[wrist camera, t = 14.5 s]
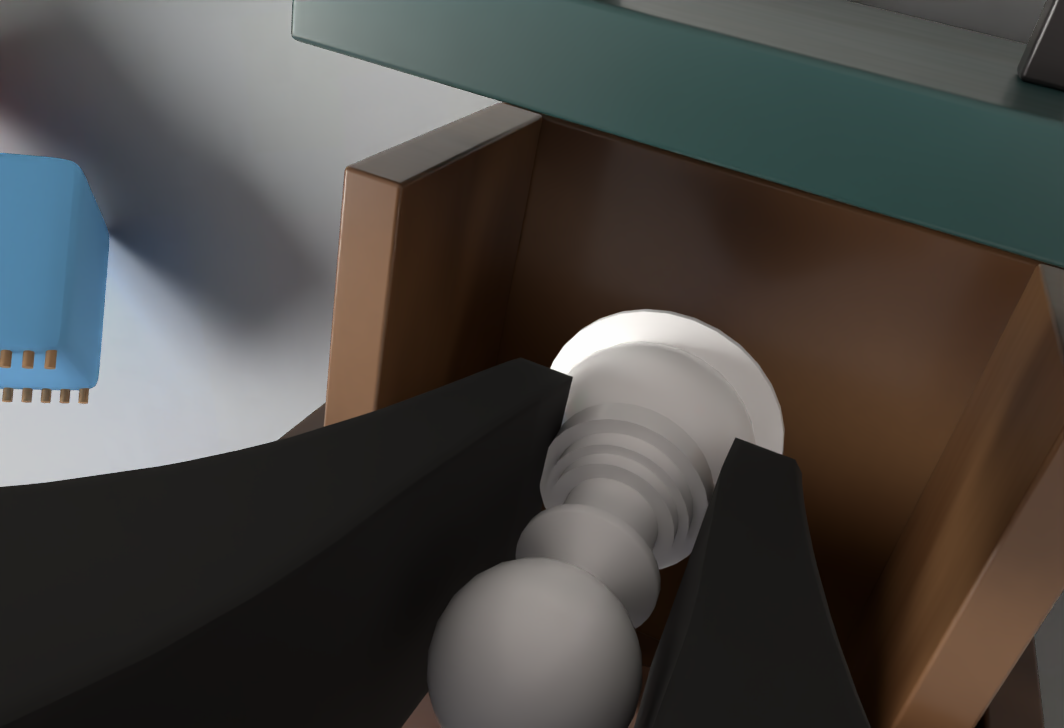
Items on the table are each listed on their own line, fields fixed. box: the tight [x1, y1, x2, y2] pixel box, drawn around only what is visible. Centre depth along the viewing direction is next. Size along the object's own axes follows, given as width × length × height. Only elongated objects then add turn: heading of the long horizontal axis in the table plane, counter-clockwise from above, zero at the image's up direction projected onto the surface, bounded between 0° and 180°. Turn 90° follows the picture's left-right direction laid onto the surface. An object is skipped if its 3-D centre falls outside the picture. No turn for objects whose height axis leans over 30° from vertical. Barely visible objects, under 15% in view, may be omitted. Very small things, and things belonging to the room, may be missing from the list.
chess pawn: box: [427, 309, 785, 728], centre depth 9 cm, size 3×3×5 cm
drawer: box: [291, 0, 1064, 728], centre depth 13 cm, size 17×10×6 cm, turn 169°
